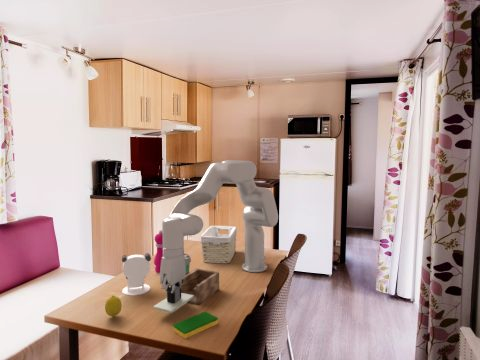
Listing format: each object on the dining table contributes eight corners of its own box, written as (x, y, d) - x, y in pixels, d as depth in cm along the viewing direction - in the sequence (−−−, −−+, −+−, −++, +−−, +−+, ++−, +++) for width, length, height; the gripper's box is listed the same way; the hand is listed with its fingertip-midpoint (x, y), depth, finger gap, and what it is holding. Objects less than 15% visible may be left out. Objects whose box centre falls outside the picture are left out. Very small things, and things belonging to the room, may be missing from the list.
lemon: (108, 313, 127) (107, 292, 126) (123, 313, 128) (122, 292, 127) (103, 321, 122) (102, 299, 121) (119, 320, 122) (118, 298, 121)
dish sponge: (218, 324, 120) (218, 317, 120) (184, 339, 111) (184, 332, 111) (205, 317, 125) (205, 310, 125) (172, 331, 116) (172, 324, 116)
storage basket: (230, 265, 179) (230, 236, 177) (199, 263, 181) (199, 235, 180) (237, 250, 202) (237, 225, 201) (210, 249, 205) (210, 225, 203)
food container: (185, 284, 154) (185, 262, 153) (172, 283, 155) (172, 261, 154) (195, 274, 166) (194, 253, 165) (182, 273, 167) (182, 252, 166)
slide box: (197, 285, 153) (196, 268, 152) (219, 289, 148) (219, 272, 148) (175, 299, 139) (175, 281, 138) (199, 305, 134) (198, 286, 133)
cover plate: (176, 293, 137) (176, 279, 136) (193, 297, 133) (193, 282, 133) (153, 308, 124) (152, 292, 124) (171, 313, 121) (171, 297, 120)
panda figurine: (150, 282, 156) (149, 250, 154) (152, 293, 145) (151, 257, 143) (122, 286, 152) (120, 252, 150) (122, 297, 141) (120, 261, 140)
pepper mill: (171, 268, 173) (171, 229, 171) (164, 273, 167) (163, 232, 164) (159, 266, 176) (158, 227, 174) (151, 271, 169) (150, 231, 167)
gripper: (178, 244, 136) (178, 290, 138) (150, 256, 121) (151, 307, 123) (194, 247, 133) (195, 293, 134) (168, 259, 118) (168, 311, 120)
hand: (174, 299), depth 129 cm, fingers closed on cover plate, 3 cm apart
